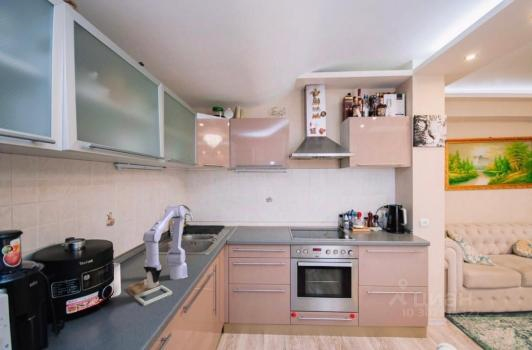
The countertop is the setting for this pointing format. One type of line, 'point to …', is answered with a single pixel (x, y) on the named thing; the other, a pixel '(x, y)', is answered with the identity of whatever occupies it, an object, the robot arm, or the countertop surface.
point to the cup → (116, 280)
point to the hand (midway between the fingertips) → (153, 280)
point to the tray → (153, 298)
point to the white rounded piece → (150, 281)
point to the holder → (137, 288)
